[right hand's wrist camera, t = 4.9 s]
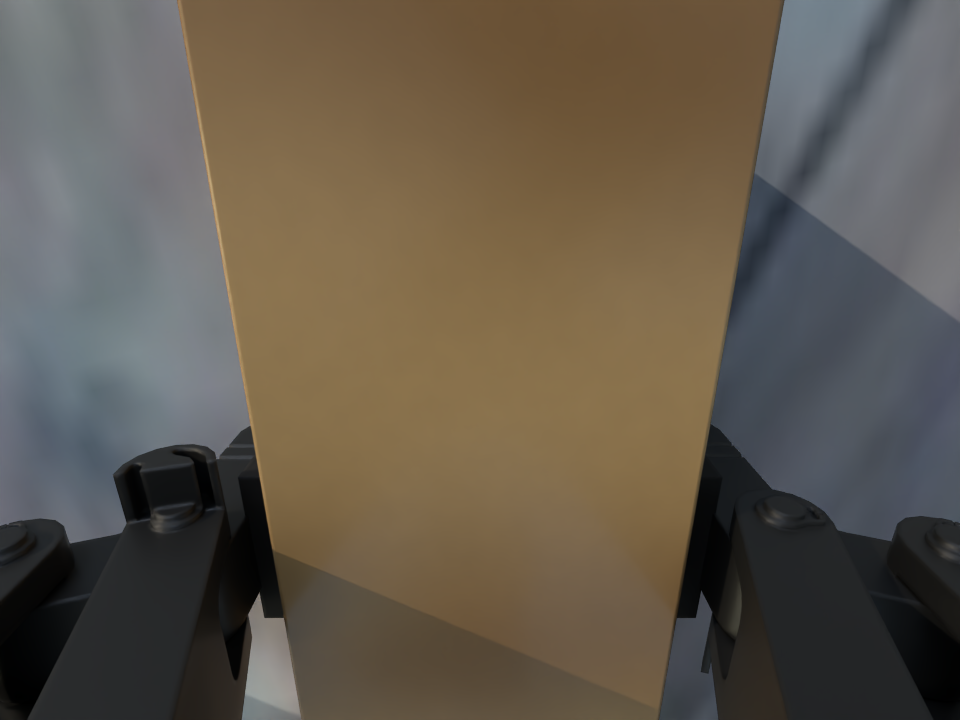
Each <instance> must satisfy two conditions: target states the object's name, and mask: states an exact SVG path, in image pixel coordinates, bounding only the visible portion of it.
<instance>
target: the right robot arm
mask: <svg viewBox="0 0 960 720" xmlns="http://www.w3.org/2000/svg"><path fill="white" fill-rule="evenodd" d="M113 477H114V481H115V484H116V487H117V491H118V494H119V498H120V501H121V505H122V508H123V512H124V515H125V519H126V522H127V524H126V526H125V528H124V530H123V532H122V533H120V534H116V535H112V536H107V537H102V538H97V539H91V540H86V541H81V542H76V543H71V544H70V543H69V540H68V537H67V534H66V531H65V528H64V526H63V525H61V524H60V523H59V522H57V521H56V520H48V519H33V520H26V521H17V522H13V523H9V525H6V524H5V525H2V526H0V720H242V712H243V704H244V696H245V689H246V681H247V673H248V665H249V657H250V649H251V641H252V634H251V627H250V622H249V617H248V614H249V612H250V610H251V608H252V606H253V604H254V602H255V600H256V598H257V596H258V594H259V592H260V597H261V602H262V607H263V612H264V618H284V615H283V609H282V603H281V597H280V591H279V586H278V580H277V574H276V568H275V563H274V557H273V551H272V545H271V539H270V534H269V528H268V522H267V516H266V511H265V505H264V499H263V493H262V487H261V482H260V476H259V470H258V464H257V459H256V453H255V447H254V441H253V435H252V430H251V426H249V427H248V428H246V429H244V430H243V431H241V432H240V433H239V435H238V436H237V437H236V438H235V439H234V440H233V441H232V443H231V444H230V445H229V448H226V449H225V451H224V452H223V453H222V454H221V455H220V458H219V459H217V460H216V456H215V452H214V451H212V450H211V449H209V448H208V447H205V446H200V445H195V444H189V445H174V446H169V447H164V448H159V449H156V450H153V451H150V452H147V453H145V454H142V455H139V456H137V457H135V458H134V459H132V460H130V461H128V462H127V463H125V464H123V465H122V466H121V467H120V468H119V469H118V470H117V471H116V472H115V473H114V474H113ZM701 590H702V592H703V594H704V596H705V598H706V600H707V602H708V604H709V606H710V608H711V610H712V617H711V622H710V627H709V632H708V637H707V641H706V646H705V651H704V656H703V661H702V668H701V672H703V673H709V668H710V663H712V671H713V679H714V687H715V695H716V703H717V711H718V719H719V720H960V523H958V522H955V523H954V522H952V521H951V520H946V519H942V518H931V517H924V516H918V517H909V518H905V519H904V520H902V521H901V522H899V523H898V524H897V527H896V530H895V533H894V536H893V538H892V541H886V540H881V539H876V538H871V537H866V536H861V535H856V534H850V533H846V532H842V531H838V530H837V529H836V527H835V525H834V523H833V522H832V520H831V519H830V518H829V517H828V516H827V514H826V513H825V512H824V511H823V510H821V509H820V508H818V507H817V506H815V505H814V504H812V503H811V502H809V501H807V500H804V499H802V498H800V497H797V496H795V495H793V494H789V493H785V492H781V491H777V490H772V489H771V488H770V487H769V486H768V484H767V483H766V482H765V481H764V480H763V479H762V478H761V476H760V475H759V474H758V473H757V472H756V471H755V470H754V468H753V467H752V466H751V465H750V464H749V463H748V462H747V460H746V459H745V458H744V457H741V454H740V452H739V451H738V450H737V449H736V448H735V447H734V446H731V442H730V441H729V440H728V439H727V438H726V437H725V435H724V434H723V433H722V432H721V431H720V430H719V429H718V428H716V427H714V426H713V425H711V424H710V429H709V435H708V441H707V447H706V452H705V458H704V464H703V469H702V475H701V481H700V487H699V492H698V498H697V504H696V510H695V515H694V521H693V527H692V533H691V538H690V544H689V550H688V555H687V561H686V567H685V573H684V578H683V584H682V590H681V596H680V601H679V607H678V613H677V618H696V614H697V609H698V604H699V599H700V593H701Z"/></svg>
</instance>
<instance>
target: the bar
mask: <svg viewBox="0 0 960 720" xmlns="http://www.w3.org/2000/svg"><path fill="white" fill-rule="evenodd" d="M177 2H178V8H179V14H180V20H181V25H182V31H183V37H184V43H185V48H186V54H187V60H188V66H189V72H190V77H191V83H192V89H193V95H194V100H195V106H196V112H197V118H198V124H199V129H200V135H201V141H202V147H203V152H204V158H205V164H206V170H207V176H208V181H209V187H210V193H211V199H212V204H213V210H214V216H215V222H216V228H217V233H218V239H219V245H220V251H221V256H222V262H223V268H224V274H225V280H226V285H227V291H228V297H229V303H230V308H231V314H232V320H233V326H234V332H235V337H236V343H237V349H238V355H239V360H240V366H241V372H242V378H243V383H244V389H245V395H246V401H247V407H248V412H249V418H250V424H251V430H252V435H253V441H254V447H255V453H256V459H257V464H258V470H259V476H260V482H261V487H262V493H263V499H264V505H265V511H266V516H267V522H268V528H269V534H270V539H271V545H272V551H273V557H274V563H275V568H276V574H277V580H278V586H279V591H280V597H281V603H282V609H283V615H284V620H285V626H286V632H287V638H288V643H289V649H290V655H291V661H292V667H293V672H294V678H295V684H296V690H297V695H298V701H299V707H300V713H301V719H302V720H659V716H660V710H661V705H662V699H663V693H664V687H665V682H666V676H667V670H668V664H669V659H670V653H671V647H672V641H673V636H674V630H675V624H676V619H677V613H678V607H679V601H680V596H681V590H682V584H683V578H684V573H685V567H686V561H687V555H688V550H689V544H690V538H691V533H692V527H693V521H694V515H695V510H696V504H697V498H698V492H699V487H700V481H701V475H702V469H703V464H704V458H705V452H706V447H707V441H708V435H709V429H710V424H711V418H712V412H713V406H714V401H715V395H716V389H717V384H718V378H719V372H720V366H721V361H722V355H723V349H724V343H725V338H726V332H727V326H728V320H729V315H730V309H731V303H732V298H733V292H734V286H735V280H736V275H737V269H738V263H739V257H740V252H741V246H742V240H743V234H744V229H745V223H746V217H747V212H748V206H749V200H750V194H751V189H752V183H753V177H754V171H755V166H756V160H757V154H758V148H759V143H760V137H761V131H762V126H763V120H764V114H765V108H766V103H767V97H768V91H769V85H770V80H771V74H772V68H773V62H774V57H775V51H776V45H777V40H778V34H779V28H780V22H781V17H782V11H783V5H784V0H177Z"/></svg>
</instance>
